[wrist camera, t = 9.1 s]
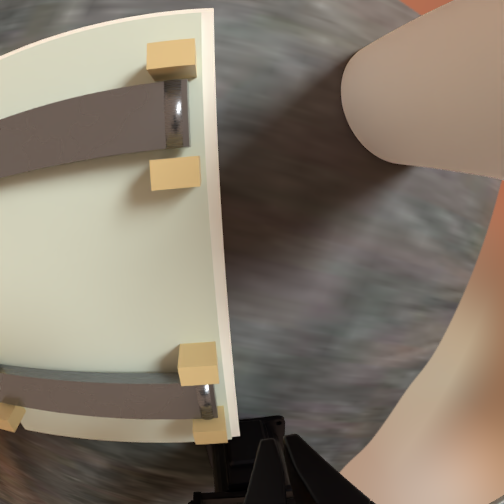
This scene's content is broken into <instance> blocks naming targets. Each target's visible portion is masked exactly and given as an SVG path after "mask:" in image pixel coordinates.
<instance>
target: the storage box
mask: <svg viewBox="0 0 504 504" xmlns="http://www.w3.org/2000/svg"><path fill="white" fill-rule="evenodd" d="M183 79H187V81H188V83H189V108H190V134H191V147H186V148H176V149H165V150H156V151H147V152H138V153H131V154H123V155H116V156H109V157H103V158H96V159H90V160H84V161H79V162H73V163H68V164H62V165H57V166H52V167H47V168H43V169H38V170H33V171H29V172H25V173H20V174H16V175H12V176H8V177H4V178H0V364H3V365H11V366H19V367H28V368H38V369H49V370H62V371H77V372H100V373H176V372H178V373H179V378H180V382H181V386H194V385H209V384H214V386H215V393H216V399H217V406H218V418H213V419H210V420H204V419H124V418H107V417H94V416H83V415H74V414H65V413H58V412H50V411H44V410H38V409H32V408H26V407H21V406H15V405H11V404H6V403H1V402H0V429H3V430H7V431H11V432H15V431H16V429H17V427H18V426H19V424H20V422H21V424H22V425H23V427H24V429H25V430H30V431H35V432H41V433H47V434H53V435H60V436H67V437H75V438H84V439H94V440H106V441H122V442H155V443H167V442H195V444H196V445H199V444H216V443H228V440H229V439H232V437H236V436H240V430H239V421H238V411H237V401H236V391H235V381H234V370H233V360H232V348H231V337H230V325H229V313H228V300H227V288H226V274H225V260H224V246H223V230H222V214H221V197H220V179H219V160H218V139H217V115H216V88H215V54H214V8H205V9H189V10H178V11H169V12H160V13H153V14H146V15H139V16H133V17H128V18H122V19H117V20H112V21H108V22H103V23H99V24H95V25H91V26H87V27H83V28H79V29H76V30H72V31H68V32H65V33H62V34H59V35H55V36H52V37H49V38H46V39H43V40H40V41H38V42H35V43H32V44H29V45H27V46H24V47H22V48H19V49H17V50H14V51H12V52H9V53H7V54H5V55H2V56H0V119H3V118H6V117H9V116H12V115H15V114H18V113H21V112H24V111H27V110H30V109H33V108H37V107H40V106H44V105H47V104H51V103H54V102H58V101H62V100H66V99H70V98H74V97H78V96H82V95H87V94H91V93H96V92H101V91H106V90H111V89H117V88H122V87H128V86H135V85H141V84H148V83H156V82H164V81H168V80H183Z"/></svg>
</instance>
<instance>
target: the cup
mask: <svg viewBox="0 0 504 504" xmlns="http://www.w3.org/2000/svg"><path fill="white" fill-rule="evenodd" d="M341 101H342V107H343V111H344V114H345V117H346V120H347V122H348V124H349V126H350V128H351V130H352V132H353V133H354V135H355V136H356V138H357V139H358V140H359V141H360V143H361V144H362V145H363V146H364V147H365V148H366V149H367V150H368V151H370V152H371V153H372V154H374V155H375V156H377V157H378V158H380V159H382V160H385V161H387V162H391V163H395V164H402V165H411V166H420V167H428V168H435V169H442V170H449V171H456V172H462V173H468V174H474V175H480V176H486V177H491V178H496V179H501V180H504V0H454V1H451V2H449V3H447V4H445V5H443V6H441V7H439V8H436V9H434V10H432V11H430V12H428V13H426V14H424V15H422V16H420V17H418V18H416V19H414V20H413V21H411V22H409V23H407V24H405V25H403V26H401V27H399V28H397V29H396V30H394V31H392V32H390V33H388V34H387V35H385V36H383V37H381V38H380V39H378V40H376V41H374V42H373V43H371V44H369V45H367V46H366V47H364V48H362V49H361V50H359V51H358V52H357V53H356V54H355V55H354V56H353V57H352V58H351V59H350V60H349V62H348V64H347V65H346V68H345V70H344V73H343V76H342V81H341Z"/></svg>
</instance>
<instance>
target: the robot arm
mask: <svg viewBox="0 0 504 504" xmlns="http://www.w3.org/2000/svg"><path fill="white" fill-rule="evenodd" d="M278 421H279V422H278ZM239 430H240V436H236V437H232V439H229V440H228V443H216V444H206V448H207V452H208V456H209V460H210V464H211V468H212V469H213V474H214V487H215V492H212V493H201V492H194V494H193V500H191V502H189V503H188V504H375V503H374V502H373V501H370V499H369V498H368V497H367V496H365V495H364V494H363V493H362V492H361V491H360V490H358V489H357V488H356V487H355V486H353V485H352V484H351V483H350V482H349V481H348V480H347V479H345V478H344V477H343V476H342V475H341V474H340V473H339V472H338V471H336V470H335V469H334V468H333V467H332V466H331V465H330V464H329V463H328V462H326V461H325V460H324V459H323V458H322V457H321V456H320V455H319V454H318V453H317V452H316V451H315V450H313V449H312V448H311V447H310V446H309V445H308V444H307V443H306V442H305V441H304V440H303V439H302V438H301V437H300V436H299V435H297V434H291V435H285V436H284V434H285V421H284V417H282V416H273V417H266V418H258V419H250V420H240V421H239ZM284 459H285V460H284Z"/></svg>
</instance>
